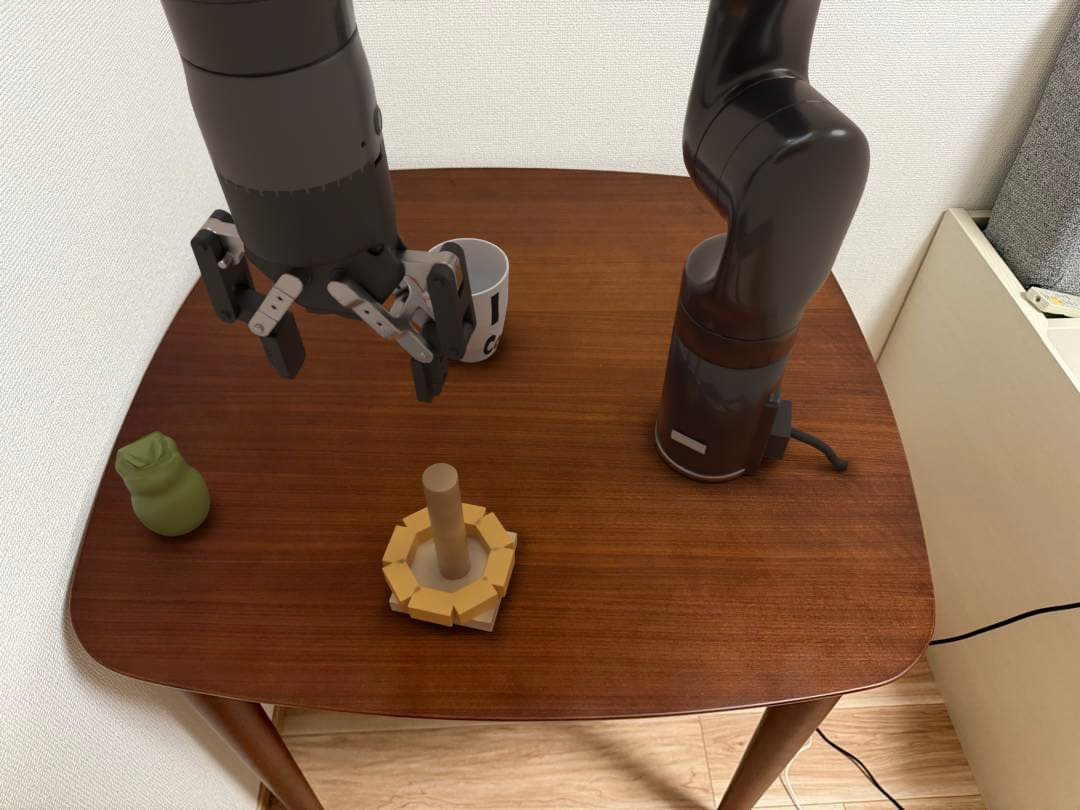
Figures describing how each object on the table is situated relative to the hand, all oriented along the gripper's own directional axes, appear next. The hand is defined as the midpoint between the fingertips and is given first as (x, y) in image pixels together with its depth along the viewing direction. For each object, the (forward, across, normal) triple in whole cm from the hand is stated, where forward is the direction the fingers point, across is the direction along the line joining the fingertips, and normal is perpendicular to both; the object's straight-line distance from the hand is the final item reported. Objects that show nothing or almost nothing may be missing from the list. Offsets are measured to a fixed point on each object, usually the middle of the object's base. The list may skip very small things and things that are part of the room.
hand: (361, 379), depth 48 cm
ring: (+21, +3, 0) cm, 21 cm away
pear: (+22, -20, 0) cm, 30 cm away
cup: (+23, -2, +25) cm, 34 cm away
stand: (+22, +4, 0) cm, 23 cm away
